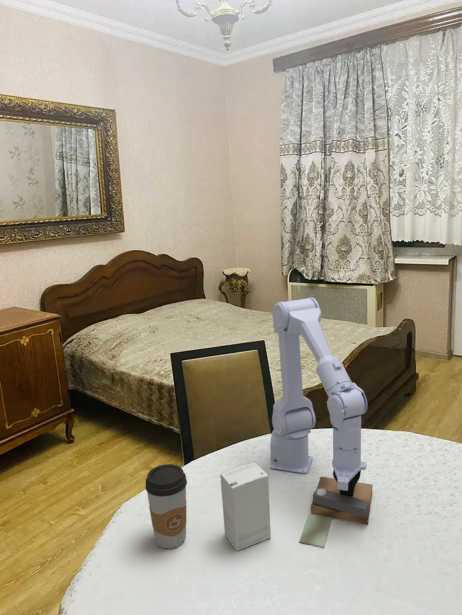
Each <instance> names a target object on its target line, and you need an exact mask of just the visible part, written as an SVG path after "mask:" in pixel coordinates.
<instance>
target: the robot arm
mask: <svg viewBox="0 0 462 615" xmlns="http://www.w3.org/2000/svg"><path fill="white" fill-rule="evenodd" d="M271 312H272V326H273V333H274V334H277V336H278V346H279V348H278V350H279V351H278V352H279V362H280V375H281V376H280V377H281V388H282V395H281V396H280V398H278V399H277V401H275V402H274V404H273V405H272V407H273V408H272V417H271V422H272V427H273V430H272V432H271V435H270V442H269V444H270V448H269V449H270V466H269V468H270V469H272V470H277V471H278V470H279V471H284V472H285V471H286V472H291V473H292V472H293V473H297V474H298V473H299V474H307V473H308V472H309V469H310V466H311V464H312V461H313V456H311V455H309V434H311V432H312V429H313V428H314V427H315V424H316V414H315V411H314V408H313V402H312V401H311V399H309V398H308V397H307V396H304V389H303V374H302V360H301V357H302V356H301V346H300V343H301V342H300V336H302V339H303V340H304V342H305V343H306V345H307V346H308V348H309V350H310V352H311V353H312V355H313V357H314V358H315V360H316V362H317V364H316V368H315V372H316V374H317V375H318V377H319V380H320V382H321V384H322V386H323V389H324V391H325V392H326V395H327V397H328V398H327V401H326V406H327V410H328V413H329V418H330V419H329V420H330V424H331V425H332V456H333V457H332V462H331V466H332V468H333V470H332V478H334V479H335V480H336V482H337V484H338V489H339V490H340V495H345V496H351V497H353V494H354V489H355V486H356V484H357V482H359V481H360V479H361V474H362V471H366V470H367V463H366V462H365V461H361V460H362V455H361V454H362V415H364V414H366V413H367V411H368V399H367V396H366V394H365V391H364V390H363V389H362V388H360V387H359V386H358V385H357V383H355V382H352V380H351V378H350V376H349V374H348V372H347V371H346V367H344V364H343V363H342V361H341V359H340V358H338V357H336V356H333V353H332V351H331V348H330V346H329V343H328V341H327V338H326V335H325V333H324V331H323V329H322V325H321V320H322V311H321V307H320V305H319V303H318V301H317V299H315V298H314V297H312V296H311V297H307V298H302V299H294V300H288V301H277V302H276V303H275V305H274V307H273V308H272V311H271Z"/></svg>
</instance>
